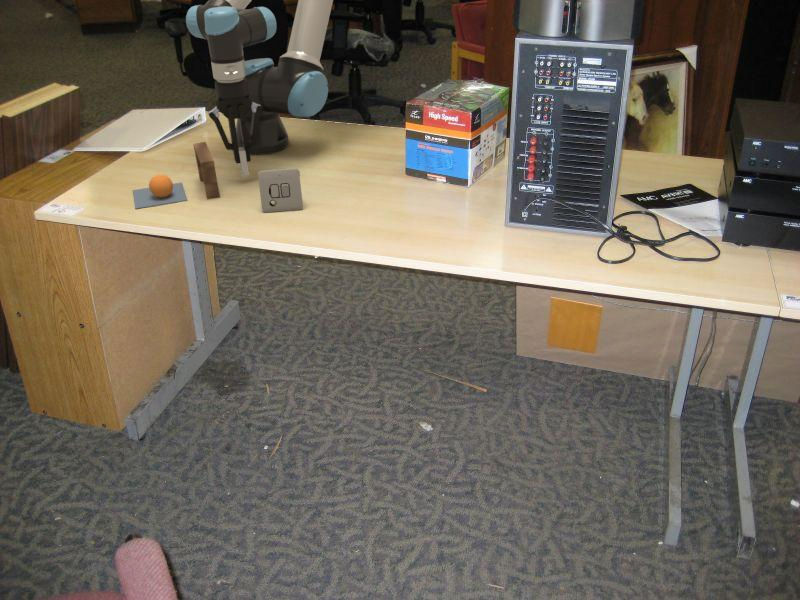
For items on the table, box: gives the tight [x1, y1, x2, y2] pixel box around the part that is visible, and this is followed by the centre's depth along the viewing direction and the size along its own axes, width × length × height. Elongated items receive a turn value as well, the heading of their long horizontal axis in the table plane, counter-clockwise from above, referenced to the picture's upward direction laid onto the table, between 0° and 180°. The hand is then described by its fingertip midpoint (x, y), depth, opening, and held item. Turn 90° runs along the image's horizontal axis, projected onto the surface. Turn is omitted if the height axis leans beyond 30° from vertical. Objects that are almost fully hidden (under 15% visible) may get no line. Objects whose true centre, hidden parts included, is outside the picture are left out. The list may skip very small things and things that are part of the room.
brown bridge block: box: [192, 141, 221, 200], centre depth 182 cm, size 3×14×9 cm, turn 20°
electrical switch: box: [257, 167, 304, 213], centre depth 171 cm, size 9×5×9 cm, turn 96°
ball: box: [148, 174, 174, 198], centre depth 179 cm, size 6×6×6 cm
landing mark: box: [131, 182, 188, 210], centre depth 181 cm, size 12×12×1 cm
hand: (245, 174), depth 185 cm, fingers closed
